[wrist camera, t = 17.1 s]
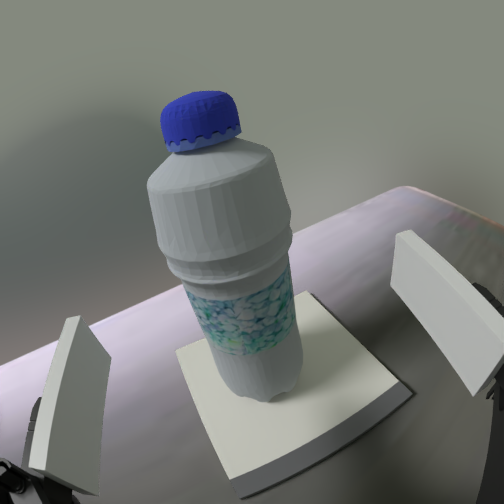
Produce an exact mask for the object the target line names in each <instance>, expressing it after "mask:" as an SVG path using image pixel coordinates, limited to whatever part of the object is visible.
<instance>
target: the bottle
mask: <svg viewBox="0 0 504 504" xmlns="http://www.w3.org/2000/svg"><path fill="white" fill-rule="evenodd" d="M160 122H161V129H162V132H163V136H164V140H165V143H166V146H167V150H168V151H170V152H174V153H172V155H171V156H169V157H168V158H167V159H166V160H165V161H164V162H163V164H162V165H160V166H159V168H158V169H156V170H155V172H154V173H153V174H152V175H151V176H150V178H149V179H148V183H147V189H148V194H149V199H150V204H151V209H152V214H153V218H154V223H155V228H156V233H157V239H158V245H159V248H160V249H161V251H162V252H163V253H164V255H165V256H166V257H167V262H168V266H169V268H170V270H171V271H172V273H173V274H174V275H175V276H176V277H178V278H179V279H181V280H182V283H183V286H184V288H185V291H186V293H187V296H188V298H189V300H190V303H191V305H192V308H193V310H194V312H195V315H196V317H197V319H198V321H199V324H200V326H201V328H202V330H203V333H204V335H205V337H206V339H207V341H208V344H209V347H210V349H211V352H212V355H213V358H214V361H215V364H216V367H217V369H218V372H219V374H220V376H221V378H222V379H223V381H224V382H225V384H226V385H227V386H228V388H229V389H230V390H231V391H232V392H233V393H234V394H236V395H237V396H240V397H244V396H245V397H249V398H252V399H255V400H257V401H259V402H268V401H270V400H271V398H272V397H273V396H275V395H277V394H280V393H282V392H289V391H291V390H292V389H293V387H294V386H295V384H296V381H297V379H298V376H299V374H300V371H301V368H302V365H303V349H302V343H301V338H300V334H299V330H298V325H297V320H296V311H295V302H294V294H293V286H292V278H291V271H290V263H289V256H288V250H289V248H290V245H291V243H292V236H293V235H292V230H291V228H290V225H289V224H290V218H291V210H290V207H289V204H288V202H287V199H286V196H285V193H284V189H283V186H282V182H281V179H280V176H279V172H278V169H277V166H276V162H275V159H274V156H273V153H272V152H271V150H270V149H268V148H267V147H265V146H263V145H259V144H256V143H253V142H249V141H246V140H243V139H239V138H236V137H235V136H237V135H238V134H240V133H241V127H240V122H239V116H238V112H237V108H236V105H235V102H234V101H233V98H232V97H231V96H230V95H228V94H227V93H224V92H221V91H199V92H192V93H190V94H187V95H185V96H182V97H180V98H178V99H176V100H174V101H173V102H171V103H169V104H168V105H167V106H166V107H165V108H164V109H163V111H162V113H161V120H160Z"/></svg>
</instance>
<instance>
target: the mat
mask: <svg viewBox="0 0 504 504" xmlns="http://www.w3.org/2000/svg"><path fill="white" fill-rule="evenodd" d="M294 302H295V311H296V320H297V325H298V330H299V334H300V338H301V343H302V349H303V365H302V368H301V371H300V374H299V376H298V379H297V381H296V384H295V386H294V387H293V389H292V390H291V391H289V392H282V393H280V394H277V395H275V396H273V397H272V398H271V400H270V401H268V402H259V401H257V400H255V399H252V398H249V397H245V396H244V397H240V396H237V395H236V394H234V393H233V392H232V391H231V390H230V389H229V388H228V386H227V385H226V384H225V382H224V381H223V379H222V378H221V376H220V374H219V372H218V369H217V367H216V364H215V361H214V358H213V355H212V352H211V349H210V347H209V344H208V341H207V339H206V337H205V338H203V339H201V340H198V341H196V342H194V343H191V344H189V345H187V346H184V347H182V348H179V349H177V350H175V352H176V355H177V357H178V360H179V363H180V366H181V369H182V371H183V374H184V377H185V379H186V382H187V385H188V387H189V390H190V392H191V395H192V397H193V400H194V402H195V405H196V407H197V410H198V412H199V414H200V417H201V419H202V422H203V424H204V426H205V429H206V431H207V433H208V435H209V438H210V440H211V442H212V444H213V446H214V449H215V451H216V453H217V455H218V457H219V459H220V461H221V463H222V465H223V467H224V470H225V472H226V474H227V476H228V478H229V480H230V482H231V484H232V486H233V488H234V490H235V492H236V493H237V495H238V497H239V499H241V500H243V499H245V498H248V497H250V496H252V495H255V494H257V493H259V492H262V491H264V490H266V489H269V488H271V487H273V486H275V485H277V484H279V483H281V482H283V481H285V480H287V479H289V478H291V477H293V476H295V475H297V474H299V473H301V472H303V471H305V470H307V469H308V468H310V467H312V466H314V465H316V464H317V463H319V462H321V461H323V460H324V459H326V458H328V457H329V456H331V455H333V454H334V453H336V452H337V451H339V450H341V449H342V448H344V447H345V446H347V445H348V444H350V443H351V442H353V441H354V440H356V439H357V438H359V437H360V436H362V435H363V434H365V433H366V432H367V431H369V430H370V429H372V428H373V427H374V426H376V425H377V424H379V423H380V422H381V421H383V420H384V419H385V418H386V417H388V416H389V415H390V414H392V413H393V412H394V411H395V410H397V409H398V408H399V407H400V406H402V405H403V404H404V403H405V402H406V401H408V400H409V399H410V398H411V396H412V393H411V392H410V391H409V390H408V389H407V388H406V387H405V386H404V385H403V384H402V383H401V382H400V381H398V380H397V379H396V378H395V377H394V376H393V375H392V374H391V373H390V372H389V371H388V370H387V369H386V368H385V367H384V366H383V365H382V364H381V363H380V362H379V361H378V360H377V359H376V358H375V357H374V356H373V355H372V354H371V353H370V352H369V351H368V350H367V349H366V348H365V347H364V346H363V345H362V344H361V343H360V342H359V341H358V340H357V339H356V338H355V337H354V336H353V335H352V334H351V333H350V332H348V331H347V330H346V329H345V328H344V327H343V326H342V325H341V324H340V323H339V322H338V321H337V320H336V319H335V318H334V317H333V316H332V315H331V314H330V313H329V312H328V311H327V310H326V309H325V308H324V307H323V306H322V305H321V304H320V303H319V302H318V301H317V300H316V299H315V298H313V297H312V296H311V295H310V294H309V293H308V292H307V291H304V292H302V293H300V294H298V295H296V296H294Z"/></svg>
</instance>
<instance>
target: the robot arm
mask: <svg viewBox="0 0 504 504" xmlns="http://www.w3.org/2000/svg"><path fill="white" fill-rule="evenodd" d="M390 286H391V287H392V288H393V289H394V290H395V292H396V293H397V294H398V295H399V297H400V298H401V299H402V300H403V301H404V303H405V304H406V305H407V306H408V308H409V309H410V310H411V311H412V313H413V314H414V315H415V316H416V318H417V319H418V320H419V322H420V323H421V324H422V325H423V327H424V328H425V329H426V331H427V332H428V333H429V335H430V336H431V337H432V339H433V340H434V341H435V343H436V344H437V345H438V347H439V348H440V349H441V351H442V352H443V354H444V355H445V356H446V358H447V359H448V360H449V362H450V363H451V365H452V366H453V368H454V369H455V370H456V372H457V373H458V375H459V376H460V378H461V379H462V381H463V382H464V384H465V385H466V386H467V388H468V389H469V391H470V393H471V394H472V396H475V395H476V394H478V393H479V392H480V391H482V390H483V389H484V388H486V387H487V386H488V385H489V383H490V382H491V381H492V379H493V378H495V379H496V383H495V384H494V385H493V387H492V388H491V389H490V391H489V392H488V393H487V396H486V399H489V398H490V396H491V395H492V394H493V393H494V395H493V397H492V400H494V404H493V417H492V426H491V434H490V442H489V448H488V454H487V460H486V465H485V470H484V474H483V479H482V483H481V487H480V491H479V494H478V498H477V502H476V504H504V306H502V304H501V303H500V302H499V301H498V300H497V299H495V297H494V296H493V295H492V294H491V293H490V292H489V291H488V290H487V289H486V288H485V287H483V286H481V285H479V284H477V283H473V284H470V283H469V282H468V281H467V280H466V279H465V278H464V277H463V276H462V275H461V274H460V273H459V272H458V271H457V270H456V269H455V268H454V267H453V266H451V265H450V264H449V263H448V262H447V261H446V260H445V259H444V258H443V257H442V256H440V255H439V254H438V253H437V252H436V251H435V250H434V249H433V248H431V247H430V246H429V245H428V244H427V243H426V242H424V241H423V240H422V239H421V238H420V237H419V236H417V235H416V234H415V233H414V232H413V231H411V230H407V231H404V232H400V233H397V234H396V241H395V251H394V260H393V269H392V276H391V284H390ZM110 364H111V357H110V355H109V354H108V353H107V351H106V350H105V349H104V348H103V346H102V345H101V344H100V342H99V341H98V339H97V338H96V337H95V335H94V334H93V333H92V331H91V330H90V328H89V327H88V325H87V324H86V323H85V321H84V320H83V318H82V317H81V315H80V316H76V317H71V318H67V319H66V322H65V325H64V328H63V330H62V333H61V336H60V339H59V342H58V344H57V347H56V350H55V354H54V357H53V360H52V363H51V366H50V370H49V373H48V377H47V380H46V384H45V387H44V391H43V395H42V397H39V398H38V400H37V401H36V403H35V405H34V407H33V409H32V413H31V417H30V422H29V426H28V432H27V436H26V442H25V447H24V453H23V460H22V465H21V468H19V467H18V466H16V465H14V464H13V463H11V462H9V461H8V460H6V459H5V458H0V504H80V502H79V501H78V499H77V498H76V497H75V496H74V495H72V490H74V491H77V492H79V493H81V494H86V495H94V496H99V472H100V451H101V437H102V425H103V415H104V407H105V398H106V391H107V383H108V377H109V370H110Z"/></svg>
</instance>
